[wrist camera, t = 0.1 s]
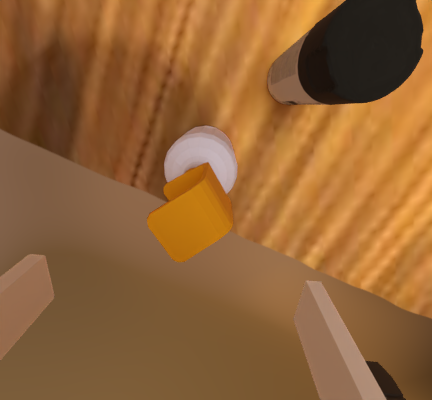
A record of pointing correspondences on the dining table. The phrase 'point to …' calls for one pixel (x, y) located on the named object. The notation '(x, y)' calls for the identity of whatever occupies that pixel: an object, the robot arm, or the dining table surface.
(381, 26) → the spray can
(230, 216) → the soap bottle
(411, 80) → the dining table surface
